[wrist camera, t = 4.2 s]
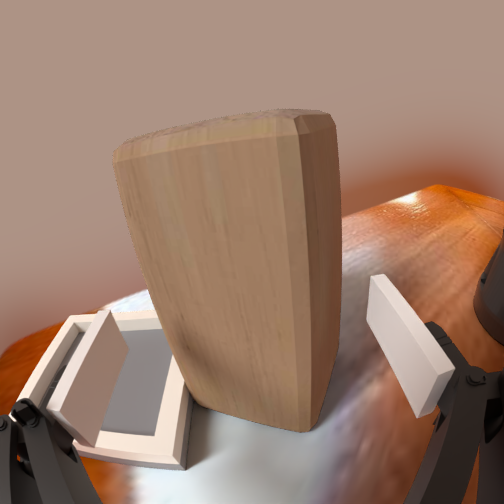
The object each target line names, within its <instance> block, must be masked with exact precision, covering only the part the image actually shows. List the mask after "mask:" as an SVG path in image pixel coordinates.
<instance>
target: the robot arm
mask: <svg viewBox="0 0 504 504" xmlns="http://www.w3.org/2000/svg"><path fill="white" fill-rule="evenodd" d="M474 309H475V312H476V315H477V317H478V319H479V321H480V322H481V324H482V325H483V327H484V328H485V329H486V330H487V331H488V333H489V334H490V335H491V336H492V337H494V338H495V339H496V340H497V341H498V342H500V343H501V344H502V345H504V229H503V235H502V239H501V241H500V243H499V245H498V247H497V249H496V251H495V252H494V254H493V256H492V258H491V260H490V261H489V263H488V265H487V267H486V268H485V270H484V272H483V273H482V275H481V277H480V279H479V281H478V285H477V289H476V292H475V296H474ZM366 321H367V323H368V324H369V326H370V328H371V330H372V332H373V333H374V335H375V337H376V339H377V341H378V343H379V344H380V346H381V348H382V350H383V352H384V354H385V356H386V358H387V359H388V361H389V363H390V365H391V367H392V369H393V371H394V373H395V375H396V377H397V379H398V381H399V383H400V385H401V387H402V389H403V391H404V393H405V395H406V397H407V399H408V401H409V403H410V405H411V407H412V409H413V412H414V414H415V416H416V418H420V417H422V416H425V415H427V414H430V413H432V412H433V411H434V409H435V407H436V405H438V406H439V408H440V410H441V411H440V413H439V414H438V416H437V418H436V419H435V421H434V423H433V425H435V428H434V431H433V434H432V437H431V439H430V442H429V445H428V448H427V451H426V453H425V456H424V458H423V461H422V463H421V466H420V468H419V471H418V473H417V475H416V478H415V480H414V482H413V484H412V486H411V489H410V491H409V493H408V495H407V497H406V499H405V501H404V503H403V504H461V503H462V500H463V498H464V495H465V492H466V489H467V486H468V483H469V480H470V477H471V473H472V470H473V466H474V463H475V459H476V455H477V451H478V447H479V478H478V491H477V500H476V504H504V368H503V369H502V371H499V372H492V373H486V372H485V371H484V370H483V369H481V368H479V367H476V366H470V365H469V364H468V362H467V361H466V359H465V358H464V357H463V355H462V354H461V353H460V351H459V350H458V349H457V347H456V346H455V345H454V343H452V341H451V339H450V338H449V337H447V334H446V333H445V331H444V330H443V329H442V328H441V327H440V326H439V325H437V324H435V323H434V322H432V321H431V322H428V323H425V324H424V323H423V322H422V321H421V319H420V318H419V317H418V315H417V314H416V313H415V312H414V310H413V309H412V308H411V306H410V305H409V304H408V303H407V301H406V300H405V299H404V297H403V296H402V295H401V294H400V292H399V291H398V290H397V289H396V287H395V286H394V285H393V284H392V283H391V281H390V280H389V279H388V278H387V276H386V275H385V274H379V275H374V276H370V288H369V299H368V308H367V317H366ZM128 350H129V348H128V346H127V344H126V342H125V340H124V338H123V336H122V334H121V332H120V330H119V328H118V326H117V324H116V321H115V319H114V317H113V315H112V313H111V310H105V311H98V313H97V314H96V316H95V318H94V319H93V321H92V323H91V324H90V326H89V328H88V330H87V331H86V333H85V335H84V336H83V338H82V340H81V342H80V343H79V345H78V347H77V349H76V351H75V352H74V354H73V356H72V358H71V360H70V362H69V363H68V365H64V366H63V367H62V368H61V369H60V370H59V371H58V373H57V375H56V377H55V378H54V382H52V384H51V386H50V387H51V388H49V390H48V392H47V394H46V396H45V398H44V400H43V402H42V404H41V406H40V408H39V409H38V408H37V407H36V405H35V404H34V403H33V402H32V401H31V400H30V399H29V398H22V399H20V400H18V401H17V402H16V403H15V404H14V405H13V407H12V409H11V415H12V417H13V418H14V419H15V420H16V421H15V422H14V421H13V420H12V419H11V418H10V417H9V416H8V415H1V416H0V504H103V503H102V502H101V500H100V498H99V496H98V494H97V492H96V490H95V489H94V487H93V485H92V483H91V481H90V479H89V477H88V474H87V472H86V470H85V468H84V466H83V464H82V461H81V459H80V457H79V454H78V452H77V450H76V448H75V446H74V445H73V444H72V443H73V440H74V439H75V440H76V441H77V442H78V443H79V444H80V445H82V446H86V447H91V448H95V445H96V442H97V438H98V435H99V432H100V429H101V426H102V423H103V420H104V416H105V413H106V410H107V408H108V405H109V402H110V399H111V396H112V393H113V390H114V387H115V385H116V382H117V379H118V376H119V374H120V371H121V368H122V366H123V363H124V361H125V358H126V355H127V353H128ZM17 455H18V456H20V462H19V461H18V460H17Z"/></svg>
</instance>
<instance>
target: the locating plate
mask: <svg viewBox="0 0 504 504" xmlns="http://www.w3.org/2000/svg"><path fill="white" fill-rule="evenodd" d="M112 315H113V317H114V319H115V321H116V324H117V326H118V328H119V330H120V332H121V334H122V336H123V338H124V340H125V342H126V344H127V346H128V348H129V350H128V353H127V355H126V358H125V361H124V363H123V366H122V368H121V371H120V374H119V376H118V379H117V382H116V385H115V387H114V390H113V393H112V396H111V399H110V402H109V405H108V408H107V410H106V413H105V416H104V420H103V423H102V426H101V429H100V432H99V435H98V438H97V442H96V445H95V448H91V447H86V446H82V445H80V444H79V443H78V442H77V441H76V440H75V439H74V440H73V443H72V444H73V445H74V446H75V448H76V450H77V452H78V454H79V455H80V456H84V457H88V458H93V459H97V460H102V461H107V462H113V463H119V464H125V465H132V466H139V467H147V468H157V469H168V470H184V471H185V469H186V460H187V450H188V442H189V433H190V425H191V416H192V408H193V401H194V400H193V398H192V396H191V394H190V392H189V389H188V387H187V385H186V383H185V381H184V379H183V376H182V374H181V372H180V370H179V367H178V365H177V363H176V360H175V358H174V356H173V353H172V351H171V349H170V346H169V344H168V341H167V339H166V336H165V334H164V331H163V329H162V326H161V324H160V321H159V319H158V316H157V313H156V311H155V310H146V311H133V312H120V313H112ZM95 316H96V314H89V315H70V317H69V318H68V319H67V321H66V322H65V323H64V325H63V326H62V328H61V329H60V331H59V332H58V334H57V335H56V337H55V338H54V340H53V341H52V343H51V344H50V346H49V347H48V349H47V350H46V352H45V354H44V355H43V357H42V358H41V360H40V362H39V363H38V365H37V366H36V368H35V370H34V371H33V373H32V375H31V376H30V378H29V380H28V382H27V383H26V385H25V387H24V388H23V390H22V392H21V394H20V396H19V397H18V399H17V401H18V400H20V399H22V398H29V399H30V400H31V401H32V402H33V403H34V404H35V405H36V407H37V408H38V409H39V408H40V406H41V404H42V402H43V400H44V398H45V396H46V394H47V392H48V390H49V388H51V387H50V386H51V384H52V382H54V378H55V377H56V375H57V373H58V371H59V370H60V369H61V368H62V367H63V366H64V365H68V363H69V362H70V360H71V358H72V356H73V354H74V352H75V351H76V349H77V347H78V345H79V343H80V342H81V340H82V338H83V336H84V335H85V333H86V331H87V330H88V328H89V326H90V324H91V323H92V321H93V319H94V318H95ZM17 401H16V402H17ZM9 417H10V418H11V419H12V420H13V421H14V422H15V421H16V420H15V419H14V418H13V417H12V415H11V412H10V414H9Z"/></svg>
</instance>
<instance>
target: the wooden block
mask: <svg viewBox="0 0 504 504" xmlns="http://www.w3.org/2000/svg"><path fill="white" fill-rule="evenodd" d="M113 167H114V172H115V176H116V181H117V185H118V189H119V193H120V198H121V201H122V205H123V209H124V213H125V217H126V220H127V224H128V228H129V231H130V235H131V238H132V242H133V245H134V248H135V251H136V254H137V258H138V261H139V264H140V267H141V270H142V273H143V276H144V279H145V282H146V285H147V288H148V291H149V294H150V297H151V300H152V302H153V305H154V308H155V311H156V313H157V316H158V319H159V321H160V324H161V326H162V329H163V331H164V334H165V336H166V339H167V341H168V344H169V346H170V349H171V351H172V353H173V356H174V358H175V360H176V363H177V365H178V367H179V370H180V372H181V374H182V376H183V379H184V381H185V383H186V385H187V387H188V389H189V392H190V394H191V396H192V398H193V400H195V401H196V402H197V403H198V404H199V405H201V406H203V407H206V408H209V409H212V410H215V411H218V412H221V413H224V414H228V415H231V416H234V417H238V418H241V419H245V420H248V421H252V422H256V423H260V424H264V425H268V426H272V427H277V428H281V429H286V430H290V431H295V432H300V433H301V432H309V431H310V429H311V428H312V427H313V426H314V425H315V424H316V423H317V420H318V417H319V414H320V411H321V408H322V405H323V401H324V398H325V395H326V391H327V388H328V384H329V381H330V377H331V374H332V370H333V366H334V362H335V358H336V355H337V351H338V345H339V330H340V312H341V283H342V219H341V191H340V172H339V158H338V144H337V134H336V125H335V123H334V121H333V119H332V117H331V115H330V114H328V113H325V112H322V111H319V110H303V109H302V110H301V109H276V110H267V111H259V112H252V113H246V114H239V115H233V116H226V117H221V118H215V119H209V120H204V121H199V122H195V123H190V124H186V125H181V126H176V127H172V128H168V129H164V130H160V131H156V132H152V133H148V134H145V135H141V136H138V137H134V138H130V139H127V140H126V141H125V142H124V143H123V144H122V145H121V146H120V147H118V148H117V149H116V150H115V151H114V154H113Z"/></svg>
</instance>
